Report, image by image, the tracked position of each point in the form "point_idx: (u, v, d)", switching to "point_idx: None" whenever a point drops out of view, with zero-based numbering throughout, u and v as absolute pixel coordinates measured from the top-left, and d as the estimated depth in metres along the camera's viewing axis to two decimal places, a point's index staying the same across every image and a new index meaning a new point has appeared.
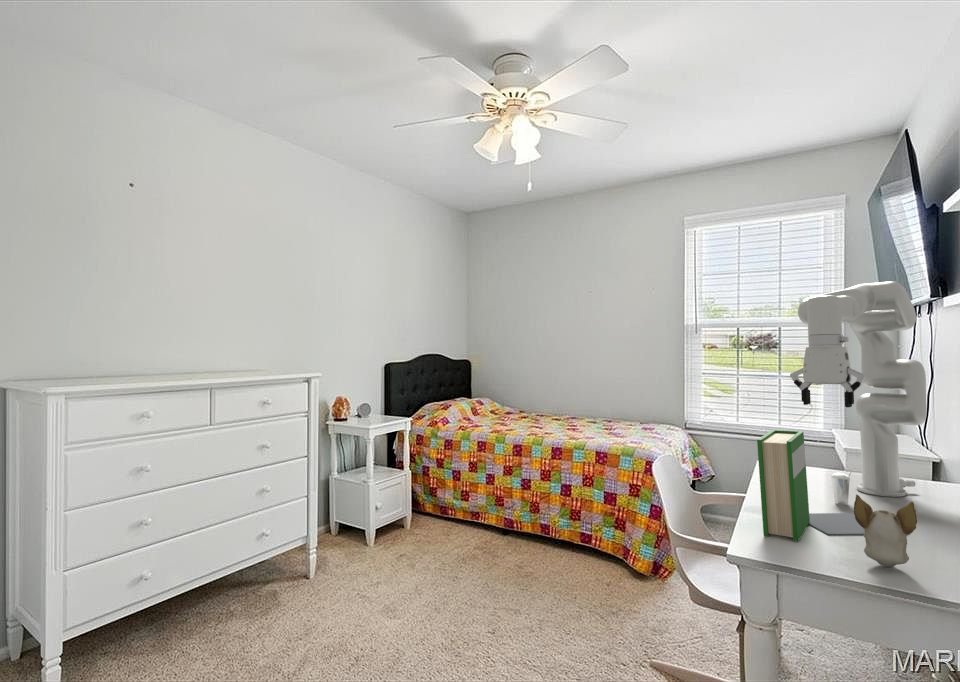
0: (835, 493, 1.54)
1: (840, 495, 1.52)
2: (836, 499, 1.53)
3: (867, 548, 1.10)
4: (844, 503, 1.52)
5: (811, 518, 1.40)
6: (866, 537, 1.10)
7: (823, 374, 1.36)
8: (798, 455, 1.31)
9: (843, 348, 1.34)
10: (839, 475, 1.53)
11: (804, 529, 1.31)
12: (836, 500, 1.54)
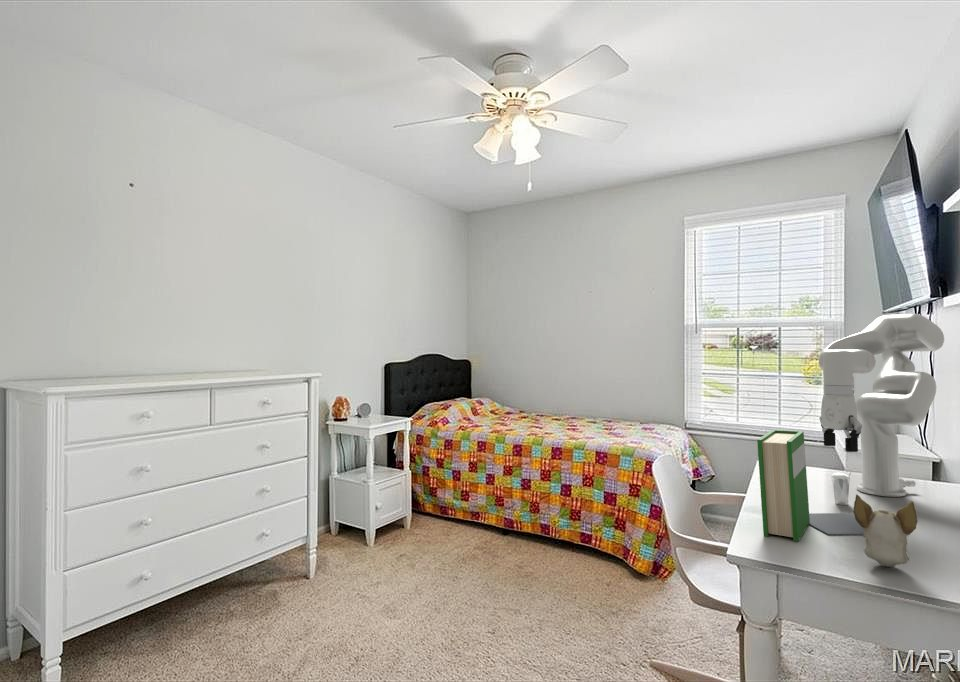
0: (835, 493, 1.54)
1: (840, 495, 1.52)
2: (836, 499, 1.53)
3: (867, 548, 1.10)
4: (844, 503, 1.52)
5: (811, 518, 1.40)
6: (866, 537, 1.10)
7: None
8: (798, 455, 1.31)
9: None
10: (839, 475, 1.53)
11: (804, 529, 1.31)
12: (836, 500, 1.54)
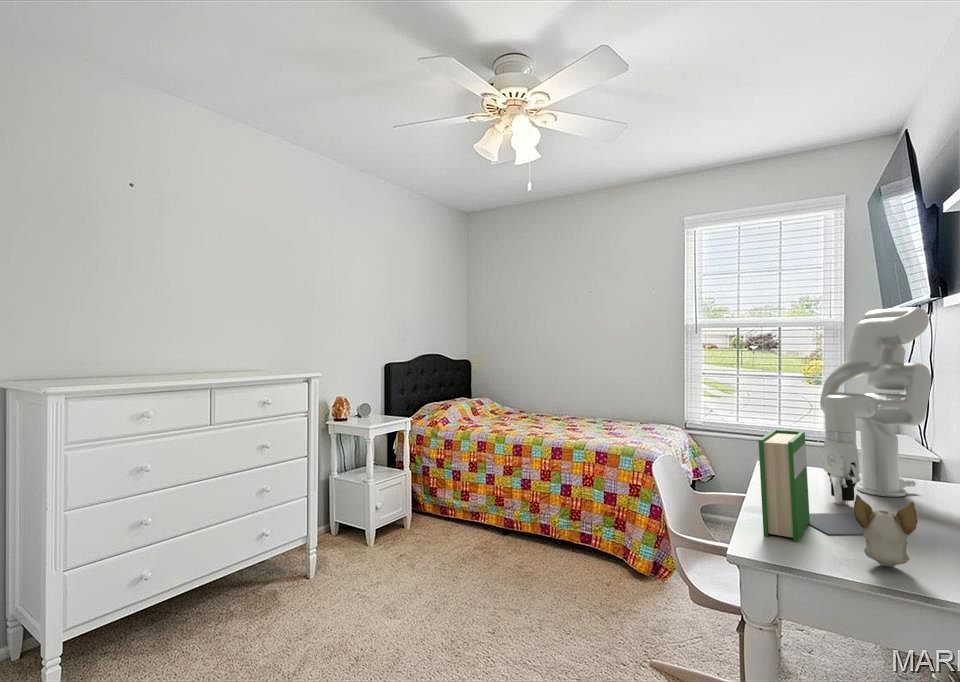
0: (835, 493, 1.54)
1: (840, 495, 1.52)
2: (836, 499, 1.53)
3: (867, 548, 1.10)
4: (844, 503, 1.52)
5: (811, 518, 1.40)
6: (866, 537, 1.10)
7: None
8: (799, 455, 1.31)
9: None
10: None
11: (804, 529, 1.31)
12: (836, 500, 1.53)
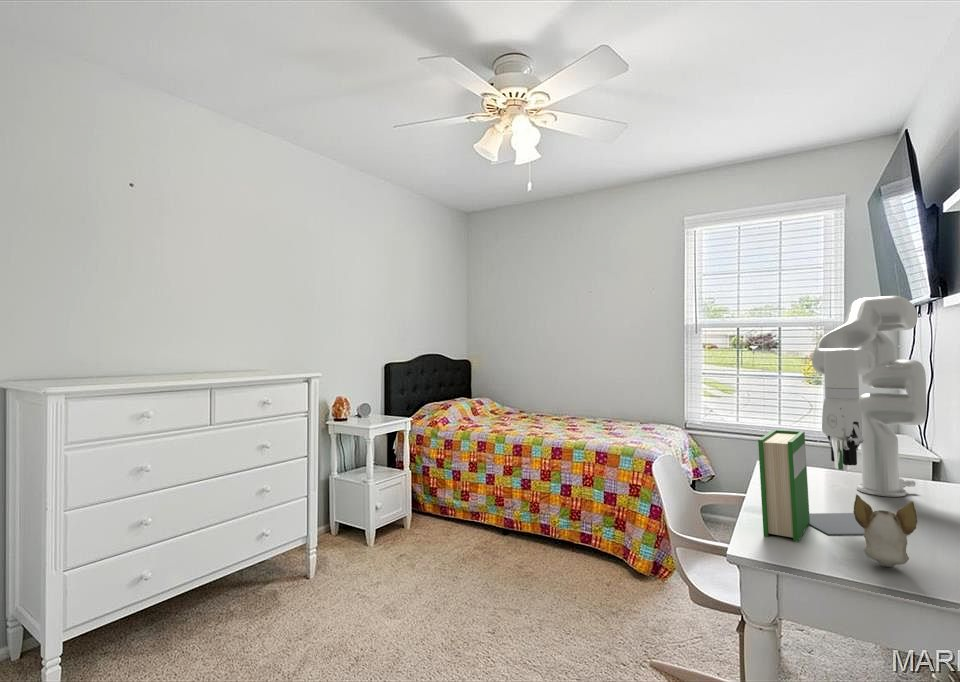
0: (835, 457, 1.38)
1: (841, 459, 1.37)
2: (836, 464, 1.38)
3: (867, 548, 1.10)
4: (845, 468, 1.36)
5: (811, 518, 1.40)
6: (866, 537, 1.10)
7: None
8: (799, 455, 1.31)
9: None
10: None
11: (804, 529, 1.31)
12: (836, 465, 1.38)
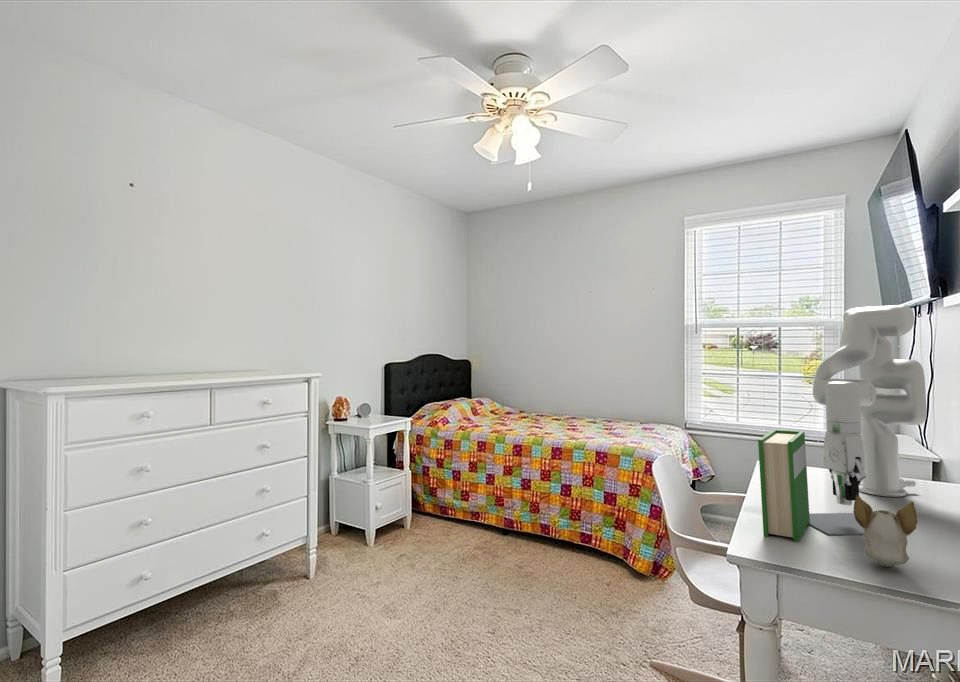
0: (837, 491, 1.36)
1: (843, 494, 1.35)
2: (838, 498, 1.36)
3: (867, 548, 1.10)
4: (847, 503, 1.35)
5: (811, 518, 1.40)
6: (866, 537, 1.10)
7: None
8: (799, 455, 1.31)
9: None
10: None
11: (804, 529, 1.31)
12: (838, 499, 1.36)
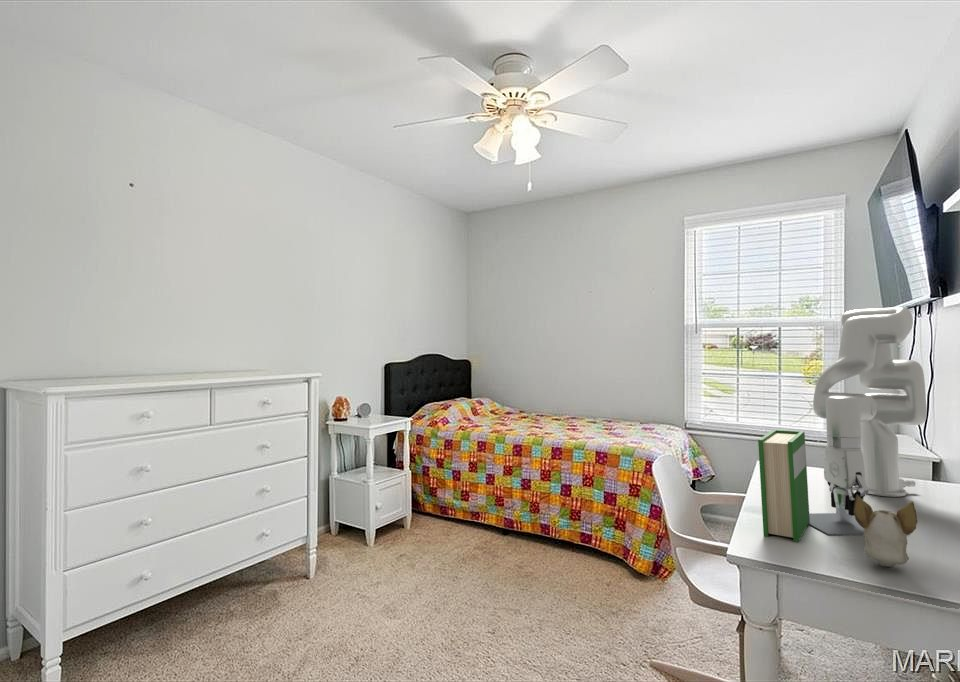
0: (837, 510, 1.36)
1: (843, 513, 1.35)
2: (838, 517, 1.36)
3: (867, 548, 1.10)
4: (847, 522, 1.35)
5: (811, 518, 1.40)
6: (866, 537, 1.10)
7: None
8: (799, 455, 1.31)
9: None
10: (842, 490, 1.35)
11: (804, 529, 1.31)
12: (838, 518, 1.36)
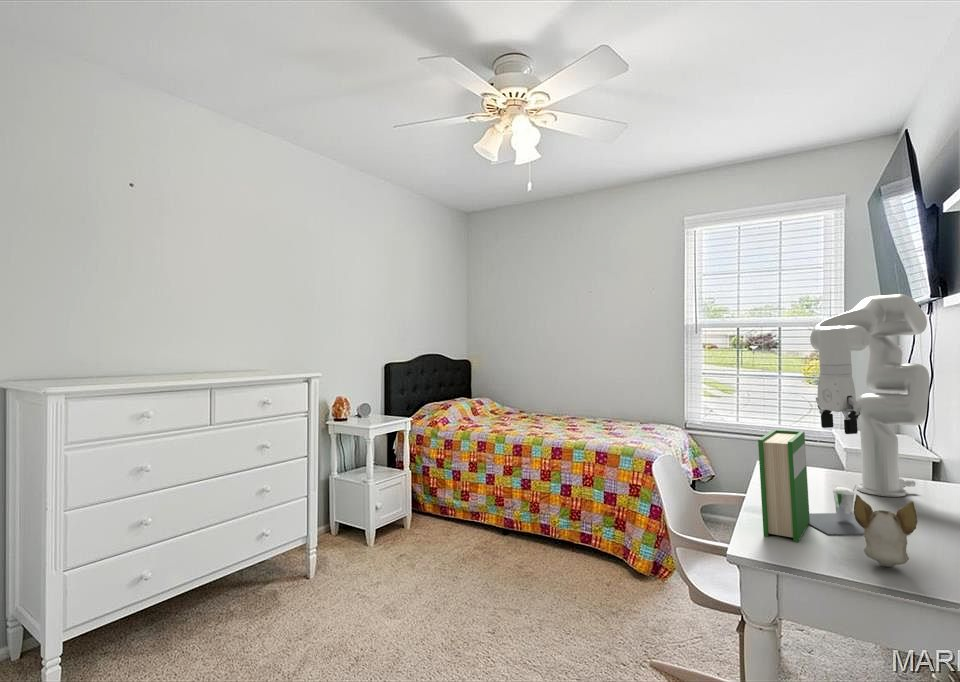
0: (837, 510, 1.36)
1: (843, 513, 1.35)
2: (838, 517, 1.36)
3: (867, 548, 1.10)
4: (847, 522, 1.35)
5: (811, 518, 1.40)
6: (866, 537, 1.10)
7: None
8: (799, 455, 1.31)
9: None
10: (842, 490, 1.35)
11: (804, 529, 1.31)
12: (838, 518, 1.36)
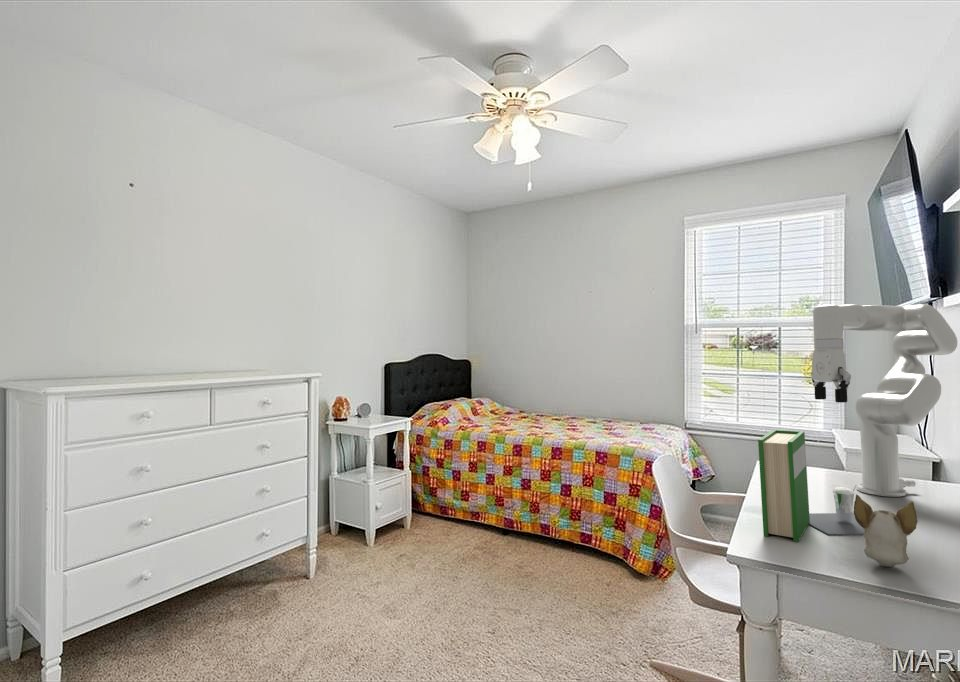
0: (837, 510, 1.36)
1: (843, 513, 1.35)
2: (838, 517, 1.36)
3: (867, 548, 1.10)
4: (847, 522, 1.35)
5: (811, 518, 1.40)
6: (866, 537, 1.10)
7: None
8: (799, 455, 1.31)
9: None
10: (842, 490, 1.35)
11: (804, 529, 1.31)
12: (838, 518, 1.36)
